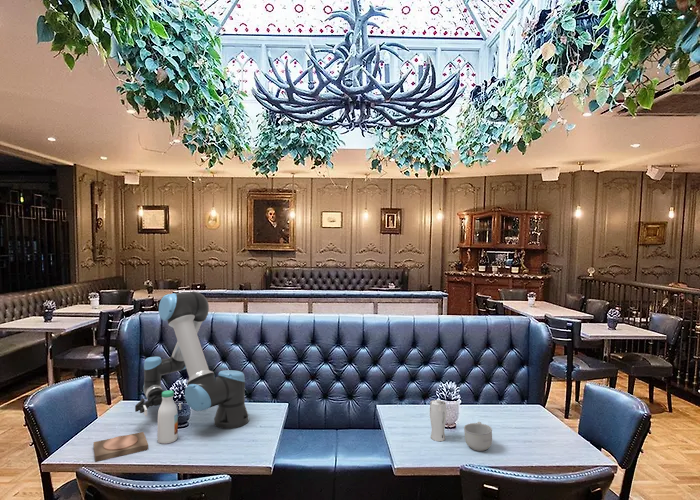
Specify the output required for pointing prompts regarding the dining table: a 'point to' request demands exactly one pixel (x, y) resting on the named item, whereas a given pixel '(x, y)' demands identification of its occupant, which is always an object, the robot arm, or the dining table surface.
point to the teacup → (478, 436)
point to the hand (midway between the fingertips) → (163, 409)
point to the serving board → (120, 446)
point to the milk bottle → (167, 419)
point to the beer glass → (438, 419)
